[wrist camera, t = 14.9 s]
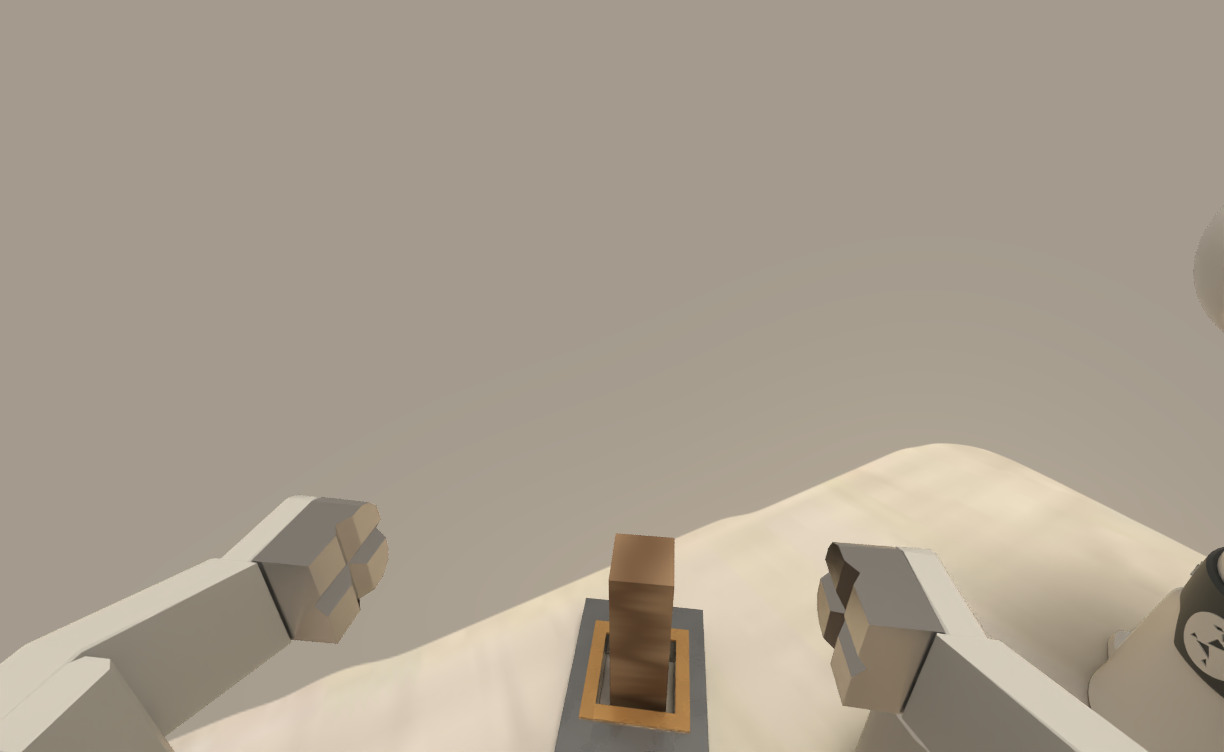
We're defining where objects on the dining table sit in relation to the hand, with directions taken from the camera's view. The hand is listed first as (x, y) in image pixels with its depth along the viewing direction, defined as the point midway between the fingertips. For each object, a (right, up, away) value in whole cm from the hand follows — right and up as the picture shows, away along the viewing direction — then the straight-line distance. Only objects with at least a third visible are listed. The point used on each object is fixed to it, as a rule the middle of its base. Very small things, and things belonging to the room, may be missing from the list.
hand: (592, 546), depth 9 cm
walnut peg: (+2, -21, +29) cm, 36 cm away
